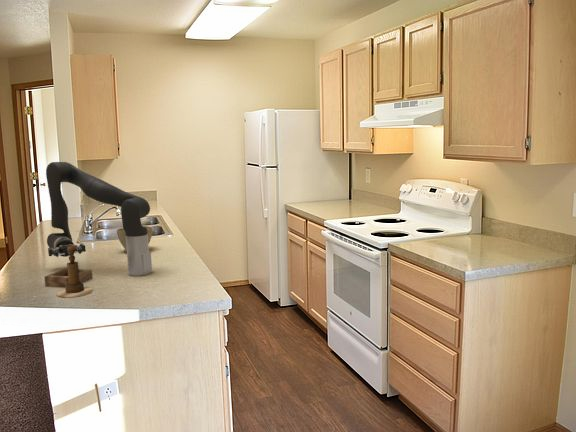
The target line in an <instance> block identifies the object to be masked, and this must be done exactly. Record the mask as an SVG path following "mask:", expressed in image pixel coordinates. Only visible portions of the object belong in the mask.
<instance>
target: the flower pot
mask: <svg viewBox="0 0 576 432" xmlns="http://www.w3.org/2000/svg"><path fill="white" fill-rule="evenodd" d="M143 226H144V227H146V228H147V232H148V245H149V244H150V242H151V239H152V235H153V227H152V226H150V225H143ZM116 235H117V238H118V240H119V243H120V244H121V245H122V247H123V248H124V249H125V251H127V248H126V234H125V231H124V229H123V227H121V228H118V229H116Z"/></svg>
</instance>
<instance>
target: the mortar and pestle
mask: <svg viewBox="0 0 576 432" xmlns="http://www.w3.org/2000/svg"><path fill="white" fill-rule="evenodd" d="M75 250H76V248H75V246H73V245H70V246H68V247H67V251H68V252H69V254H70V256H68V260H69V262H67V263H66V268H68V280H69V283H68V284H67V285H66V286H65V287H64V289H66V293H78V292H81V291H83V290H84V286H85V285H84V282H83V283H81V282H80V280H79V269H80V268H79V262H78V261H75V260H76V256H75V255H74V254H75V253H74V252H75Z"/></svg>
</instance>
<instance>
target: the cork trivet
mask: <svg viewBox="0 0 576 432" xmlns="http://www.w3.org/2000/svg"><path fill="white" fill-rule="evenodd" d="M92 291H93V292H94V288H93V287H91V286H87V285H84V290H83V291H81V292H78V293H66V289H65V288H63V289H60V290H58V291H57V292H56V296H57V297H58V296H59V297H58V298H67V299H68V298H69V299H70V298H77V297H78V298H79V297H84V296H86V295H89V294H91V293H92Z"/></svg>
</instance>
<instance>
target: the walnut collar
mask: <svg viewBox="0 0 576 432" xmlns="http://www.w3.org/2000/svg"><path fill="white" fill-rule="evenodd" d="M78 269H79V280H80V282H81V283H83V284H84V283H86V282H87V281H90V280H92V279H93V269H90V268H86V269H85V268H78ZM68 283H69V280H68V268H67V267H66V268H64V269H60V270H58V271H56V272H53V273H50V274H47V275H45V276H44V284H45V287H57V288H65V286H66V285H67V284H68Z"/></svg>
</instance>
